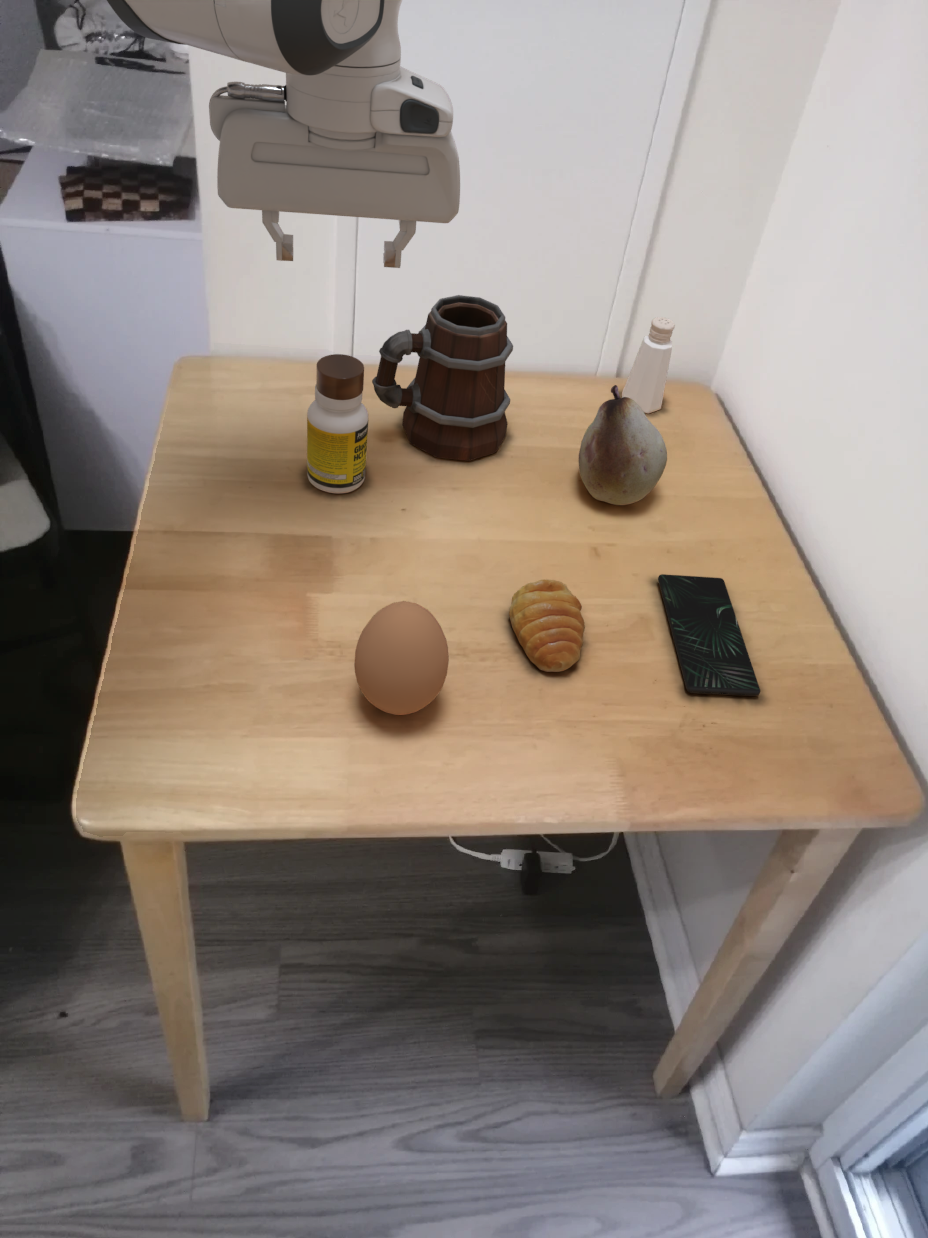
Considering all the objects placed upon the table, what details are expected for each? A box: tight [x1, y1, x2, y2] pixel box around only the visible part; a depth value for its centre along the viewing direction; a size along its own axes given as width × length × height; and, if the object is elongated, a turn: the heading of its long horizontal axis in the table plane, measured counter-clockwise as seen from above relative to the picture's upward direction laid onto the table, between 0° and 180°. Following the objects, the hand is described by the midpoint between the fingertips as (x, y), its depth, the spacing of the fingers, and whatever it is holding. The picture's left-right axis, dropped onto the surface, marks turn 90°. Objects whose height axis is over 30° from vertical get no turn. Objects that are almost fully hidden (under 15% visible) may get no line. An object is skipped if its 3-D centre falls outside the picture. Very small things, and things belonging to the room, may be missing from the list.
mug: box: [371, 294, 514, 462], centre depth 103 cm, size 16×12×15 cm
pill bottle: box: [306, 384, 369, 494], centre depth 96 cm, size 6×6×11 cm
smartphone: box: [657, 573, 761, 697], centre depth 89 cm, size 7×1×15 cm
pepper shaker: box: [621, 316, 676, 414], centre depth 115 cm, size 5×5×11 cm
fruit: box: [578, 384, 668, 506], centre depth 100 cm, size 10×9×12 cm
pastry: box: [508, 579, 586, 673], centre depth 85 cm, size 9×7×4 cm
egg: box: [353, 600, 450, 716], centre depth 76 cm, size 8×8×11 cm
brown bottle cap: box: [315, 353, 365, 400], centre depth 92 cm, size 5×5×2 cm
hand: (338, 261), depth 84 cm, fingers open, 8 cm apart
